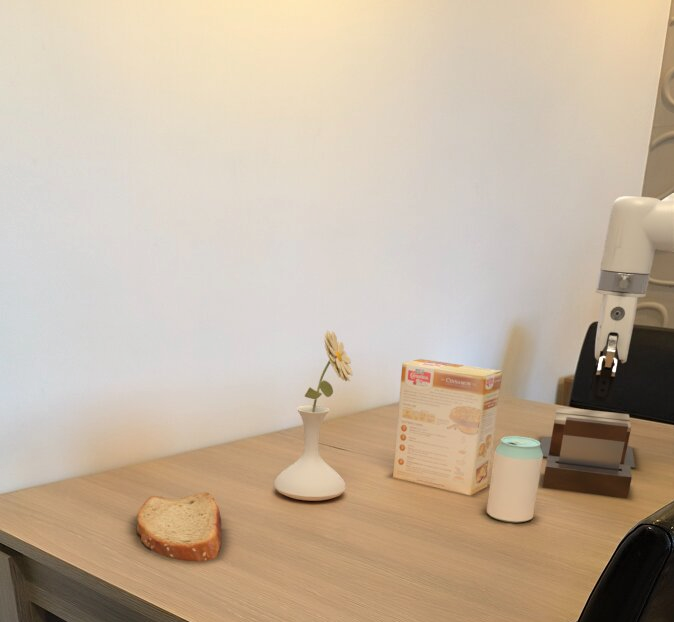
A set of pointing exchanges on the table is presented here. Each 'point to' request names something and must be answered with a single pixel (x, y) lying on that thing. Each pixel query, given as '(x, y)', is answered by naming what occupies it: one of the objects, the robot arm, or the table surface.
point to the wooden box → (554, 444)
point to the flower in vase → (316, 439)
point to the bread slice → (181, 527)
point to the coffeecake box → (446, 425)
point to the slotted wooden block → (587, 479)
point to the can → (514, 479)
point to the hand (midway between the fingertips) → (599, 395)
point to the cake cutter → (593, 443)
